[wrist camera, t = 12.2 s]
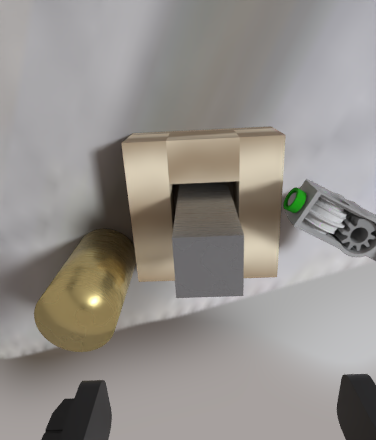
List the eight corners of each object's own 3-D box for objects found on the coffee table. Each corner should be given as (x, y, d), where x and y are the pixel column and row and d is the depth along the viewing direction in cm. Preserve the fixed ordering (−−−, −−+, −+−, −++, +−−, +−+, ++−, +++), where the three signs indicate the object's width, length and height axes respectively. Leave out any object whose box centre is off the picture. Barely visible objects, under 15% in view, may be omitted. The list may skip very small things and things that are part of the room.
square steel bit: (180, 179, 30) (171, 237, 19) (225, 177, 30) (244, 235, 18) (182, 220, 31) (176, 297, 20) (225, 219, 31) (243, 295, 20)
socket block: (132, 133, 29) (121, 143, 25) (270, 126, 29) (285, 135, 24) (146, 254, 34) (138, 281, 29) (265, 249, 33) (277, 277, 29)
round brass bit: (72, 230, 33) (25, 287, 24) (133, 227, 33) (109, 285, 24) (83, 281, 35) (44, 352, 26) (139, 279, 35) (120, 350, 26)
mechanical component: (346, 227, 32) (407, 285, 23) (255, 180, 31) (281, 222, 21) (366, 201, 31) (438, 251, 22) (273, 151, 30) (308, 183, 20)
